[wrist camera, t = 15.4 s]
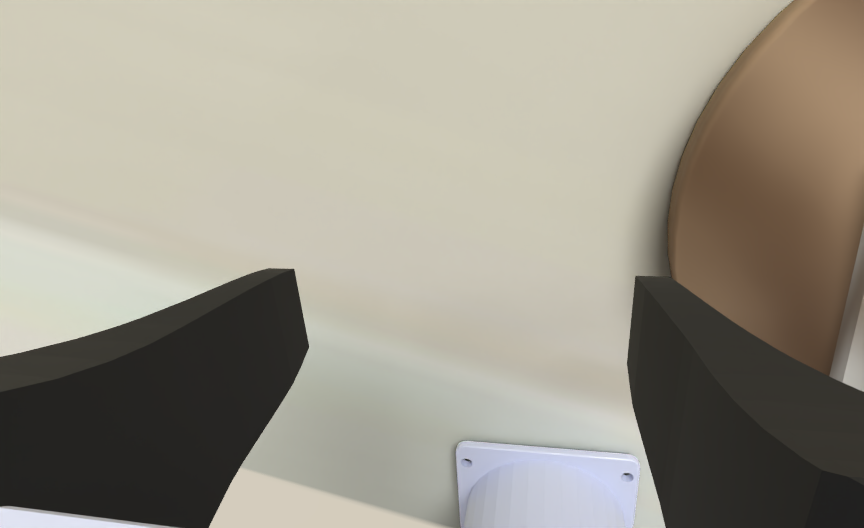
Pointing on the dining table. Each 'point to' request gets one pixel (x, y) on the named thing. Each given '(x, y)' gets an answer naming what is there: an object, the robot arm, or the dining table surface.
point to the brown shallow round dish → (783, 190)
